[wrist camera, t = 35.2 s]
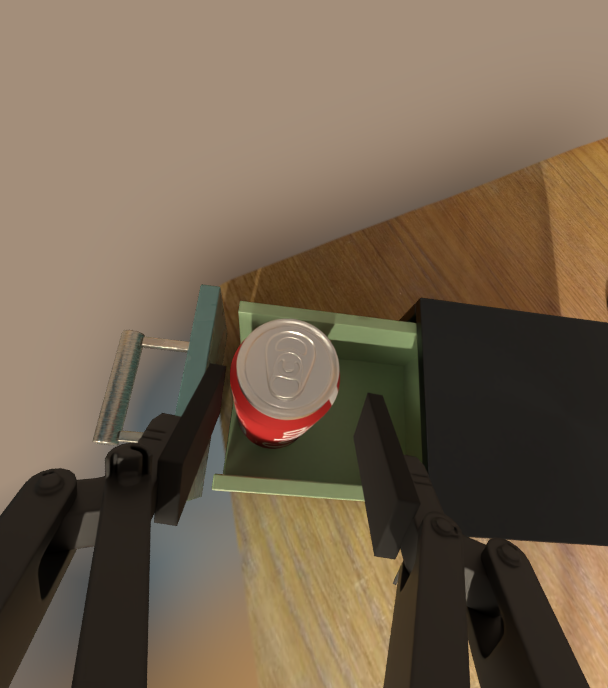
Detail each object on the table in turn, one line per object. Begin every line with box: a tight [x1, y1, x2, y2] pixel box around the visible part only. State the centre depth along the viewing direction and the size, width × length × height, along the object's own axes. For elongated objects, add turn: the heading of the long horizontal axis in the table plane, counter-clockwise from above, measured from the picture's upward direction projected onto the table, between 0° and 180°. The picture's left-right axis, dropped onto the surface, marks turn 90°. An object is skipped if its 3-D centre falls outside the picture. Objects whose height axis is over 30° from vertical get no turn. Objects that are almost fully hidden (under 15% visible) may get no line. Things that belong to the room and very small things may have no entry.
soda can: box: [230, 319, 340, 449], centre depth 22 cm, size 5×5×12 cm
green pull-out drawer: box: [93, 285, 422, 501], centre depth 25 cm, size 21×12×8 cm, turn 86°
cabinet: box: [399, 298, 608, 546], centre depth 26 cm, size 18×14×10 cm
